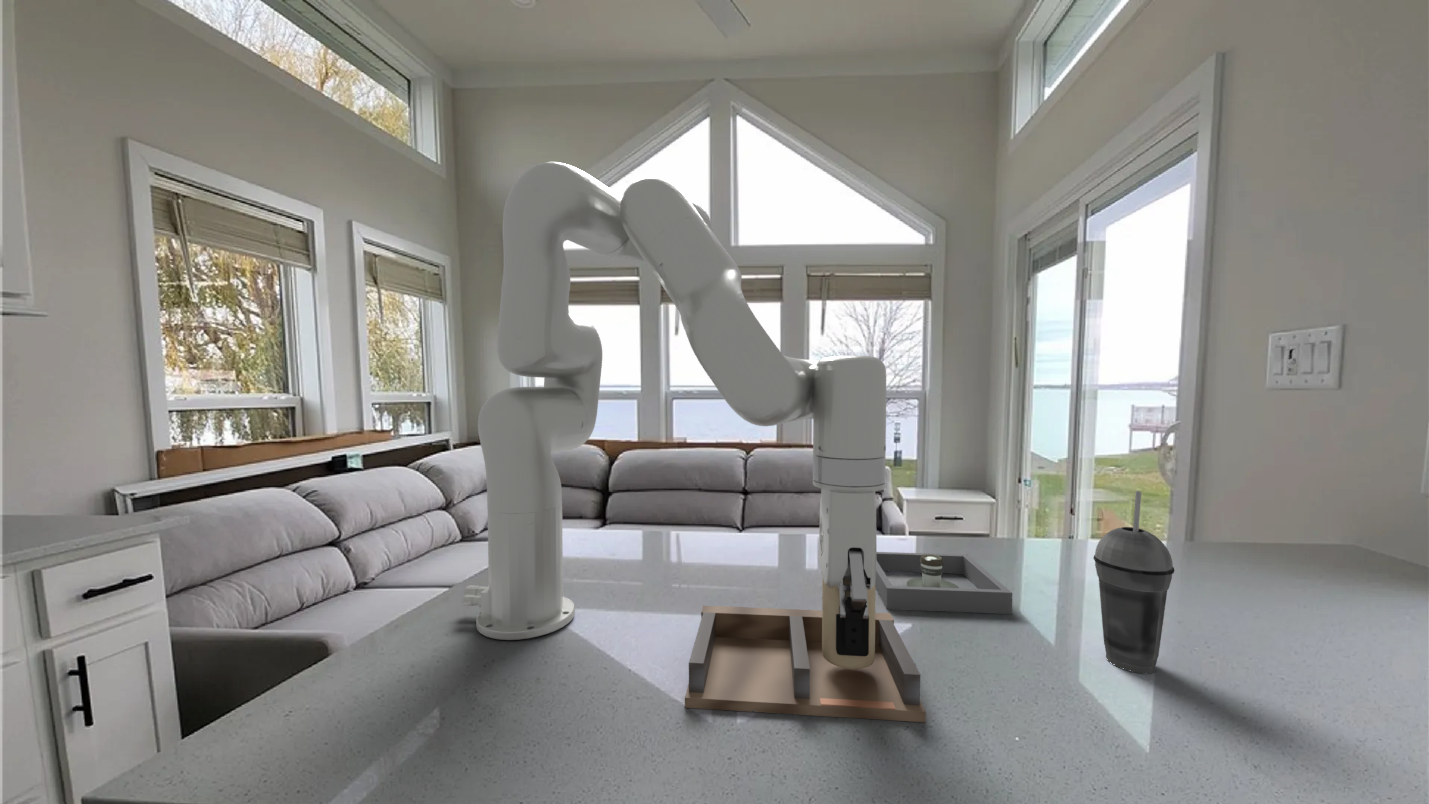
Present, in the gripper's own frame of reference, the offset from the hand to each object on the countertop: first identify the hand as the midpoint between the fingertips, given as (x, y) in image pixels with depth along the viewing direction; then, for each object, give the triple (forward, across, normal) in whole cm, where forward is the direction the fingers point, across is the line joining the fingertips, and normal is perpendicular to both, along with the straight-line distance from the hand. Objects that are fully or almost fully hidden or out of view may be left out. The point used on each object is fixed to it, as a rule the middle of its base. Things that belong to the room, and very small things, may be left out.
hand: (847, 637), depth 57 cm
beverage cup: (+5, -7, +33) cm, 34 cm away
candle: (+2, 0, 0) cm, 2 cm away
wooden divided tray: (+5, -1, -5) cm, 7 cm away
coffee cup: (+5, -28, +17) cm, 33 cm away
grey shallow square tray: (+5, -28, +17) cm, 33 cm away
